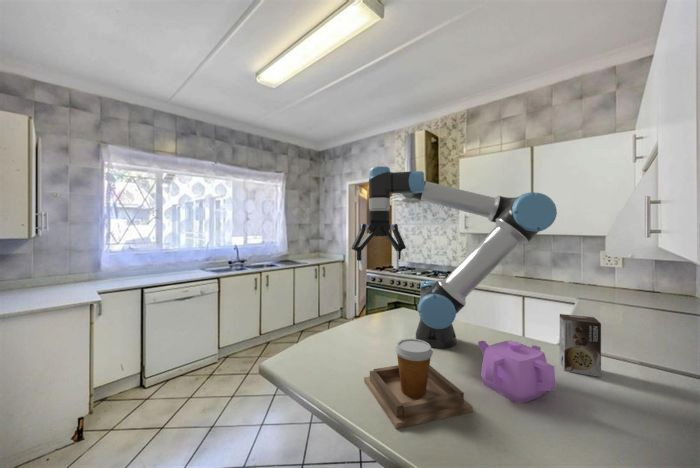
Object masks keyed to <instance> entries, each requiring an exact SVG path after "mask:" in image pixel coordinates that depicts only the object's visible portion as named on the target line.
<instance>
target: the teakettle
mask: <svg viewBox="0 0 700 468" xmlns="http://www.w3.org/2000/svg"><path fill="white" fill-rule="evenodd" d="M477 344H478V346H479V349H480V350H481V353H482V356H483V359H482V364H481V372H480V373H481V374H480V375H481V376H480V378H481V381H482V384H483V385H484V386H486V387H487V388H489V389H490V390H493V391H494V392H495V393H498V394H499V395H501V396H502V397H504V398H507V399H509V400H510V401H513V402H514V403H517V404H523V403H527V402H531V401H533V400H536V399H539V398H541V397H542V396H543V395H544V394H546V393H547V392H548V391H549V392H550V391H551V392H552V391H554V390H556V389H557V382H556V373H555V371H556V370H555V365H551V364H550V363H548V361H547V357H546V354H545V352H544V351H542V350H541V346H538V345H531V346H529V345H526V344H523V343H520V342H519V341H515V340H514V341H513V340H505V341H500V342H497V343H493V344H491V345H489V344H488V343H487V341H486V340H479V341H477Z"/></svg>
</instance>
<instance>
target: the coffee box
mask: <svg viewBox="0 0 700 468" xmlns="http://www.w3.org/2000/svg"><path fill="white" fill-rule="evenodd" d="M558 362H559V365H560V366H561V368H562V369H563V372H568V373H575V374H582V375H586V376H594V377H599V378H601V377H602V322H600V321H599V320H598V319H597V318H596V317H594V316H585V315H576V314H575V315H574V314H563V313H559V361H558Z"/></svg>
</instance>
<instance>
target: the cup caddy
mask: <svg viewBox="0 0 700 468" xmlns="http://www.w3.org/2000/svg"><path fill="white" fill-rule="evenodd" d="M363 378H364V379H363V382H364V384H365V385H366V386H367V388H368V390H369V391H370V392H371V394H372V395H373V397H374V399H375V400H376V402H377V403H378V404H379V406H380V407H381V408H382V409H381V410H383V411H384V413H385V415H386V416H387V418H388V419H389V421H390V422H391V424H392V425H393V426H394V429H396V430H397V429H401V428H406V427H411V426H414V425H415V426H416V425H420V424H424V423H428V422H432V421H437V420H442V419H446V418H450V417H455V416H458V415H462V414H467V413H472V412H473V406H472V405H471V404H470V403H469V402H467V401H466V400H465V392H464V391H462V390H461V389H460V388H458V387H457V386H456V385H455V384H454V383H453V382H451V381H450V380H449V379H447V377H445V376H444V375H443V374H441V373H440V372H439V371H438V370H436V369H435V368H434V367H432V366H431V365H430V366H429V373H428V380H427V387H426V394H425V395H424V396H422V397H418V398H414V397H409V396H407V395H405V394H404V393H403V392H402V391H401V383H400V375H399V366H398V364H397V365H390V366H385V367H378V368H374V369H373V370H370V371H369V376H364V377H363Z"/></svg>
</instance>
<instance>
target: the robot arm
mask: <svg viewBox="0 0 700 468" xmlns="http://www.w3.org/2000/svg"><path fill="white" fill-rule="evenodd" d="M368 175H369V176H368V210H369V212H368V224H366V223H361V224H360V226H359V231H358V233H357V235H356V236H355V239H354V241H353V244H352V246H351V250H353V251H356V261H358V270H360V271H364V269H365V267H364V261H365V260H364V259H365V258H364V257H365V256H364V255H365V253H364V251H363V250H364V249H365V247H366V246H367V245H368V243H369V242H370V241H371V240H372V239H373V238H374V237H385V238H386V239H387V241H388V242H389V243H390V244H391V246H392V247H393V248H394V250H393V261H392V262H393V269H395V270H399V269H400V266H399V265H400V264H399V260H401V257H402V256H401V252H402V251H403V250H405V249H407V248H406V247H407V246H406V244H405V242H404V240H403V238H402V235H401V233H400V230H399V225H398V223H393V224H391V223H390V220H391V218H390V217H391V216H390V215H391V214H390V213H391V212H390V211H389V210H391V209H390V208H391V197H390V195H391V194H392V195H394V194H402V196H404V197H405V198H408V199H413V200H418V201H421V202H422V201H423V202H425V203H431V204H434V205H437V206H442V207H446V208H450V209H454V210H457V211H461V212H466V213H469V214H471V215H472V214H473V215H476V216H479V217H480V216H481V217H484V218H487V219H488V221H489V222H493V223H495V227H493V229H492V230H491V231H490V232H489V233H488V234H487V235H486V236H485V237H484V238H483V240H481V241H480V242H479V243H478V245H476V247H475V248H473V250H472V251H471V252H469V254H468V255H466V257H465V258H464V259H463V260H462V261H461V262H460V263H459V264H458V265H457V266H456V267H455V268H454V269H453V271H452V272H450V273H449V274H448V276H447V277H446V278H445V279H438V280H422V281H421V282H420V287H419V289H420V293H419V295H420V296H419V302H418V305H417V313H418V315H419V318H420V319H419V322H418V325H417V328H416V331H415V339H418V340H422V341H425V342H427V343H428V344H430V346H431V348H437V349H447V348H451V347H454V346H455V345H456V344H457V335H456V332H455V329H454V326H453V322H454V321H455V319H456V317H457V314H458V313H459V312H460V311H461V310H462V309H463V308H464V307H465V306H466V303H467V302H466V298H467V297H468V296H469V295H470V294H471V293H472V292H473V290H475V289H476V288H477V287H478V286H479V284H481V283H482V282H483V281H484V280H485V278H487V276H489V275H490V274H491V273H492V271H494V270H495V269H496V268H497V266H499V264H500V263H501V262H503V261H504V259H506V257H508V255H510V254H511V253H512V251H514V250H515V249H516V248H517V247H518V246H519V245H520V244H528V243H529V242H530V241H531V240H532V239H534V237H535V236H536V235H537V234H538V233H540V232H542V231H545V230H547V229H548V228H550V227H551V226H552V225H553V224H554V223H555V221H556V218H557V216H558V215H557V213H558V210H557V207H556V204H555V202H554V201H553V199H552V198H551V197H550V196H548V195H546V194H544V193H542V192H537V191H535V192H532V191H531V192H526V193H523V194H521V195H519V196H516V197H508V196H501V195H497V196H495V197H494V196H489V195H484V194H481V193H476V192H473V191H469V190H464V189H459V188H456V187H453V186H452V187H451V186H448V185H444V184H439V183H435V182H430V181H426V180H425V173H424V171H422V170H420V171H419V170H412V171H398V172H397V171H396V172H395V171H394V172H392V171H391V169H390V167H389V166H383V165H381V166H380V165H379V166H373V167H371V168H370V169H369V173H368ZM390 229H391V232H392V233H393V235H392V234H391V233H390ZM366 230H369V232H368V233H367V235H366V236H365V237H364V239H363V236H364V234H365V233H366ZM393 236H394V237H393ZM394 238H395V239H394ZM362 239H363V240H362Z"/></svg>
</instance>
